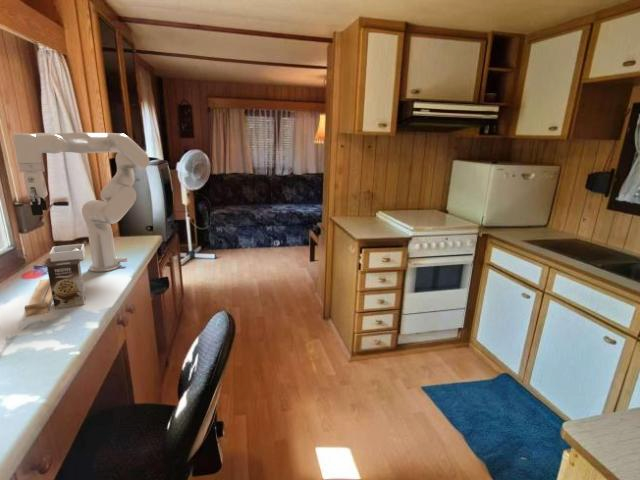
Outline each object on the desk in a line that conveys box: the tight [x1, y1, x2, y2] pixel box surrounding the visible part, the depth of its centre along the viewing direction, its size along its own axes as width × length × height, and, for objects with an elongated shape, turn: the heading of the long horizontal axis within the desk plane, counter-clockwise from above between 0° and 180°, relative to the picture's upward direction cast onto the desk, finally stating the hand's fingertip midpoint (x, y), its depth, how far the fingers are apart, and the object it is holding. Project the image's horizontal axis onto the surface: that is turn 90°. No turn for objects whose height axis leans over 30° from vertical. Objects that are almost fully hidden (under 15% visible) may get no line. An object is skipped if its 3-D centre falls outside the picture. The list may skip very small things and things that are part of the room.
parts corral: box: [49, 243, 86, 262], centre depth 176 cm, size 13×12×5 cm
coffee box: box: [46, 259, 87, 310], centre depth 128 cm, size 9×6×16 cm
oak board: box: [23, 278, 53, 318], centre depth 134 cm, size 6×30×4 cm, turn 29°
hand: (40, 212), depth 138 cm, fingers open, 9 cm apart
